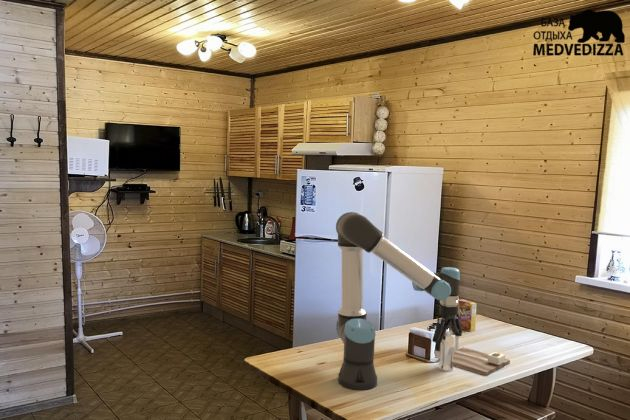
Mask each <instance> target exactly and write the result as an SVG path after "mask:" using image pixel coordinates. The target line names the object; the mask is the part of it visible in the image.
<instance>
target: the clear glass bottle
mask: <svg viewBox="0 0 630 420" xmlns="http://www.w3.org/2000/svg"><path fill="white" fill-rule="evenodd" d="M455 342H456V340H455V334H454V333H453V332H451V331H446V332H445V335H444V337H443V339H442V342H441V343H442V359H440V360H439V361H438V364H437V365H438V367H437V368H438V370H441V371H443V372H452V371H453V370H454V368H453V365H452V360H453V355H454V351H455Z"/></svg>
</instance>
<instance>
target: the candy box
mask: <svg viewBox="0 0 630 420" xmlns="http://www.w3.org/2000/svg"><path fill="white" fill-rule="evenodd" d="M477 306H478V305H477V302H474V301H470V300H466V299H464V298H463V299H459V301H458V314H459V320H460V324H461V329H462V330H465V331H468V332H471V333H472V332H475V331H476V324H477V323H476V322H477V321H476V320H477V319H476V318H477Z"/></svg>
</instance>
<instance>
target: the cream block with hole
mask: <svg viewBox="0 0 630 420" xmlns="http://www.w3.org/2000/svg"><path fill="white" fill-rule="evenodd" d="M488 354H489V355H488V361H487V362H490V363H493V364H497V365H500V364H501V363H503V362H505V359H506V354H503V353H500V352H495V351H494V352H491V353H488Z"/></svg>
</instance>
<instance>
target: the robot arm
mask: <svg viewBox="0 0 630 420" xmlns="http://www.w3.org/2000/svg"><path fill="white" fill-rule="evenodd" d="M335 223H336V224H335V230H336V233H337V247H338V248H339V249H340V250H341V308H340V309H339V310H338V312H337V321H336V329H335V330H336V333H337V335H338V337H339V339H341V341H342V343H343V358H342V359H343V360H342V361H343V362H342V364H341V367H340V369H339V372H338V374H337V375H338V376H337V382H338V384H339V385H341V386H342V387H344V388H346V389H351V390H360V391H365V390H370V389H371V390H372V389H374V388H376V386H377V385H378V375H377V373H376V368H375V363H374V362H375V361H374V360H375V340H376V339H375V338H376V326H375V324H374V323H373V322H372V321H370V320H367V319H368V318H367V316H368V315H367V310H366V309H365V308H364V305H363V303H364V300H363V299H364V290H363V289H364V285H363V284H364V271H363V270H364V269H363V268H364V259H363V258H364V256H363V255H364V254H363V253H364V251H365V252H366V253H368V254H370V253H373V255H375V256H376V257H378V258H379V259H380V260H381V261H383V262H385V263H386V264H387V265H389V266H390V267H392V269H394V270H395V271H397V272H398V273H400V275H403V277H406V279H408V280H409V281H411V284H412V288H413V290H414V291H416V292H425V293H427V294H429V295H430V296H431V297H432V298H433V299H436V300H437V301H439V303H440V305H439V314H441V317H438V318H437V319H436V327H435V329H434V333H433V337H432V340H431V341H432V343H435V347H434V348H435V349H434V351H435V352H434V359H435V358H436V359H442V343H441V342H442V339H443V337H444V335H445V332H447V330H449V328H450V329H451V331H452V333H454V334H455V340H456V342H455V351H457V352H458V349H459V346H460V345H459V342H460V337H462V334H463V329H461V324H460V320H459V314H458V308H459V300H460V299H459V295H460V282H461V281H460V280H461V279H460V278H461V276H460V273H461V272H460V269H458V268H457V267H451V266H448V267H447V266H446V267H442V268H441V270H440V272H432V271H431V269H428V268H427V267H426V266H424V264H422V263H421V262H419V261H418V260H416V259H415V258H414V257H412V256H411V255H410V254H408V253H407V252H405V251H404V250H402V249H401V248H400V247H398V246H397V245H396V244H395V243H393V242H392V241H391V240H389V239H388V238H387V237H385V236H384V232H382V230H380V229H379V228H378V227H376V226H375V225H374V224H373V223H372V222H371V221H370V220H369V219H368V218H367V217H366V216H364V215H362V214H360V213H358V212H353V211H351V212H345V213H342V215H340V216H339V217H338V219H337V220H336V222H335Z"/></svg>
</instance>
